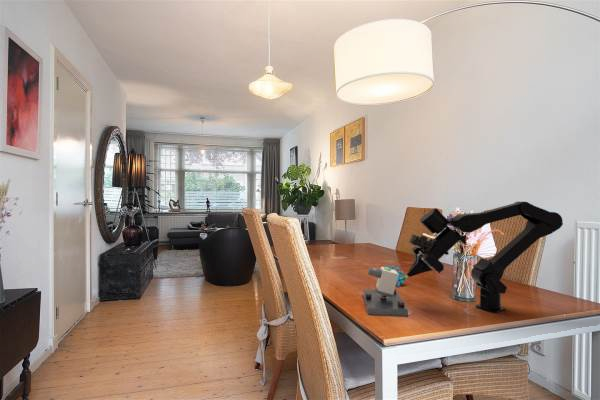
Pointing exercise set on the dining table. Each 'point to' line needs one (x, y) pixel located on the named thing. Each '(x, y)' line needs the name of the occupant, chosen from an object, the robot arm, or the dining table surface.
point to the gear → (400, 278)
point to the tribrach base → (384, 304)
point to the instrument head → (384, 280)
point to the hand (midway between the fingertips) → (407, 275)
